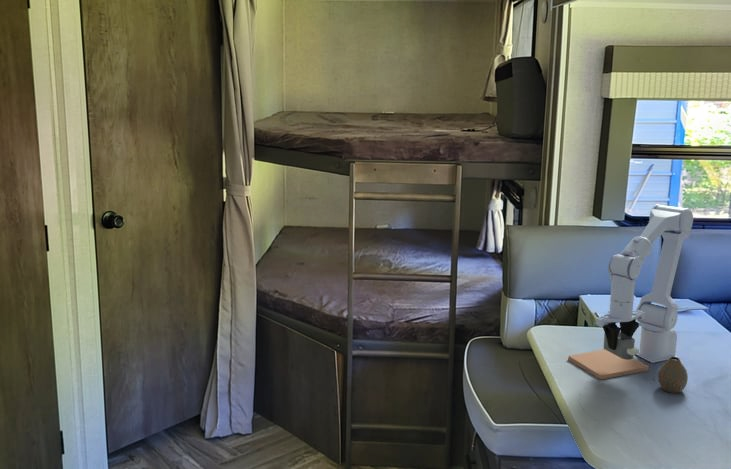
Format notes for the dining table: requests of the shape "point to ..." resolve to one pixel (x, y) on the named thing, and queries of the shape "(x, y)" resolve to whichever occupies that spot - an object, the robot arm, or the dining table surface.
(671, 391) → the vase
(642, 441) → the dining table surface
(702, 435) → the dining table surface
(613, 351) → the plug
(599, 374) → the mat
